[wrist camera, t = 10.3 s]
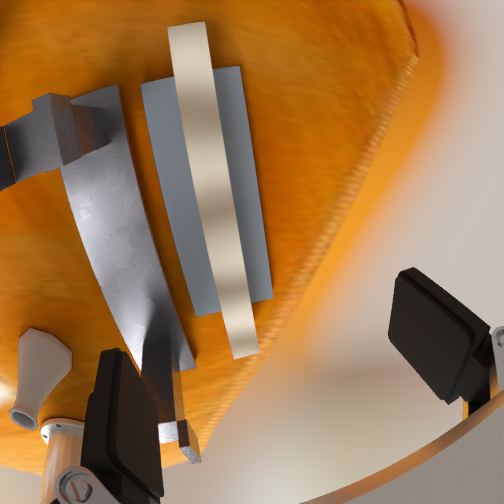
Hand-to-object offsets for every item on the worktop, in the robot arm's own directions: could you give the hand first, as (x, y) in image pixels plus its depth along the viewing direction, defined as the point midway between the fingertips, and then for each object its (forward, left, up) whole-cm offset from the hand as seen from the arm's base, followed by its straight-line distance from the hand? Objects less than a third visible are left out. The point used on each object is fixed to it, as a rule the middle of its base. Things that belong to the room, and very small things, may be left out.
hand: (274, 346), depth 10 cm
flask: (-12, +22, -18) cm, 31 cm away
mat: (0, 0, -18) cm, 18 cm away
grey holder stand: (-3, +8, -18) cm, 20 cm away
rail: (0, 0, -17) cm, 17 cm away
